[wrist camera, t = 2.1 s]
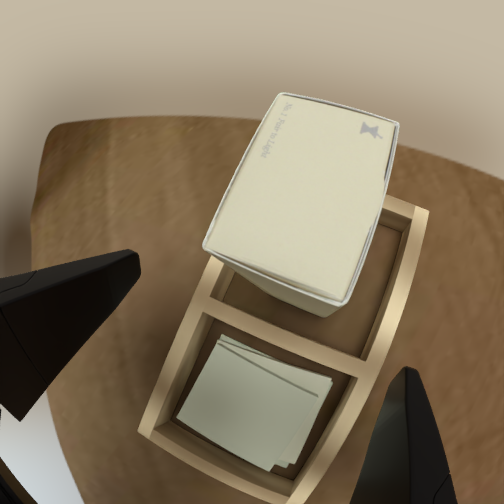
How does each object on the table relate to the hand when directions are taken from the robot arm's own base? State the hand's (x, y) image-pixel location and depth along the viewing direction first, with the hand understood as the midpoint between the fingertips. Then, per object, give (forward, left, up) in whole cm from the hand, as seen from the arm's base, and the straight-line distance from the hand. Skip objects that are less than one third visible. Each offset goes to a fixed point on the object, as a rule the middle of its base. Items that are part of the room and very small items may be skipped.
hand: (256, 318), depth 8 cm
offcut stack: (-5, -3, -11) cm, 13 cm away
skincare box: (+4, +2, -11) cm, 12 cm away
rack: (-1, 0, -11) cm, 11 cm away
